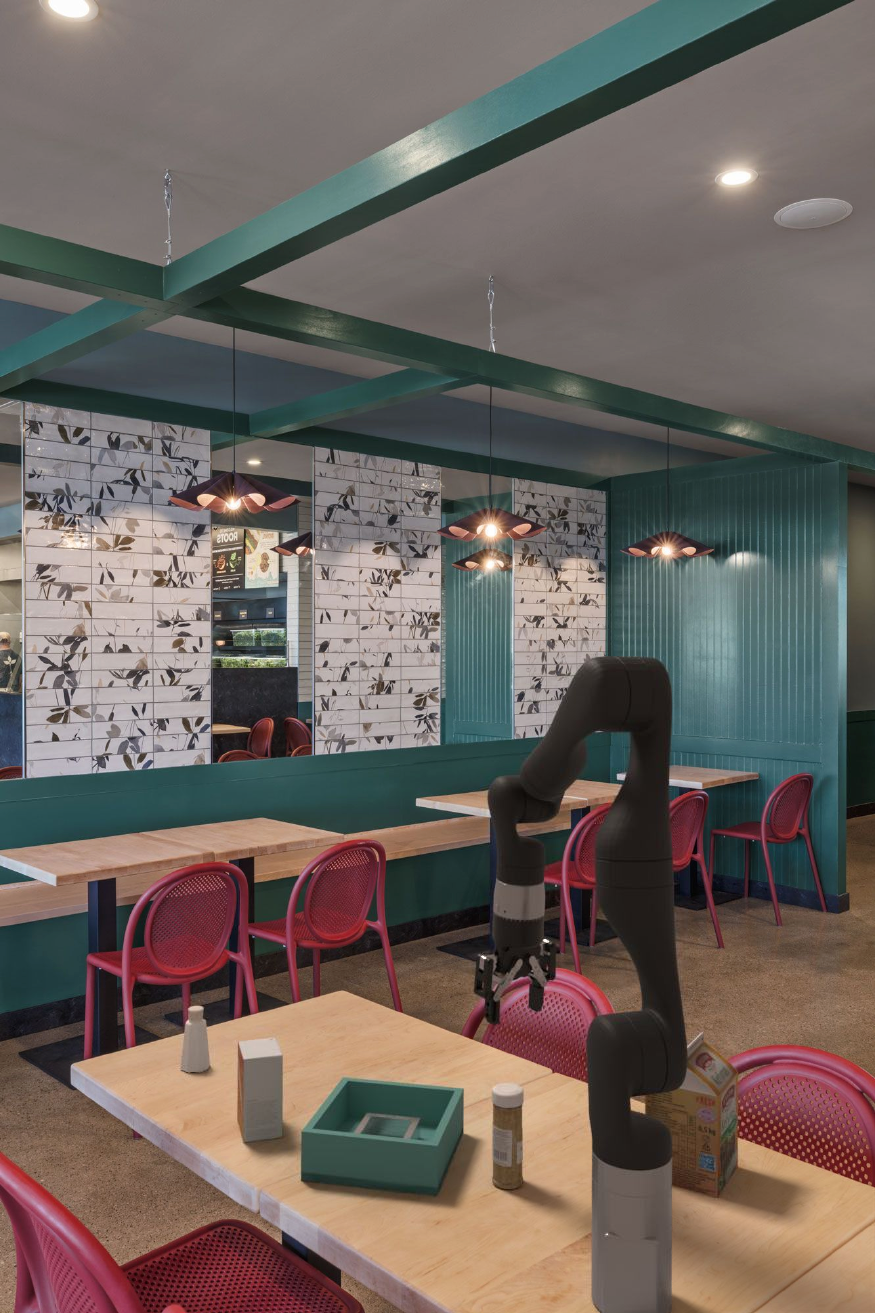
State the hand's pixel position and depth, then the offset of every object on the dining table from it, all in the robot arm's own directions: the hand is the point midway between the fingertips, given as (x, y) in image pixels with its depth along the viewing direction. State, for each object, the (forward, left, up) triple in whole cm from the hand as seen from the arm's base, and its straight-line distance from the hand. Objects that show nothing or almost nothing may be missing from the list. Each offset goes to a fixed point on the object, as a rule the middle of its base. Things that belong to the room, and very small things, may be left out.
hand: (514, 1016), depth 151 cm
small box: (+3, +41, -22) cm, 47 cm away
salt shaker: (+24, +62, -22) cm, 70 cm away
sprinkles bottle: (-5, 0, -22) cm, 23 cm away
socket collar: (-1, +19, -21) cm, 28 cm away
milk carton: (+4, -26, -22) cm, 34 cm away
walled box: (-1, +19, -22) cm, 29 cm away
